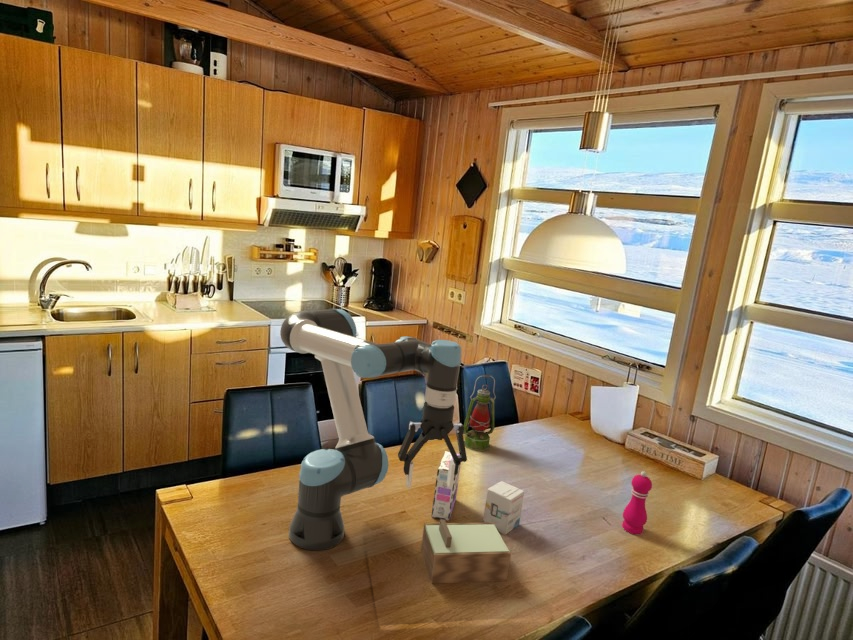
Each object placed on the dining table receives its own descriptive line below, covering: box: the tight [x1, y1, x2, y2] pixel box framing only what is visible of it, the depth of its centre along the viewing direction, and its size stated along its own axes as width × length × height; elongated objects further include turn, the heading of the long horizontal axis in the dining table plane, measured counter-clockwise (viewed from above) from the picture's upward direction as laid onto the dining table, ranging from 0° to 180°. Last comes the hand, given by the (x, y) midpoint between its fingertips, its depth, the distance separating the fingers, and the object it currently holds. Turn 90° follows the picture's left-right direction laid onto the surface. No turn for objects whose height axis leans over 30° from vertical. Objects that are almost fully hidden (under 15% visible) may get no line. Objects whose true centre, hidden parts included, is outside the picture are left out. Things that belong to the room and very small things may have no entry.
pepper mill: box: [621, 470, 653, 535], centre depth 177 cm, size 7×7×20 cm
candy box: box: [431, 450, 461, 522], centre depth 177 cm, size 14×6×16 cm, turn 168°
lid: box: [425, 519, 510, 555], centre depth 149 cm, size 20×12×4 cm, turn 102°
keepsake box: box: [420, 522, 512, 584], centre depth 150 cm, size 20×14×9 cm
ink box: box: [482, 480, 525, 535], centre depth 172 cm, size 8×8×12 cm
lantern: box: [463, 374, 497, 452], centre depth 226 cm, size 14×11×30 cm
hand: (428, 485), depth 143 cm, fingers open, 10 cm apart
